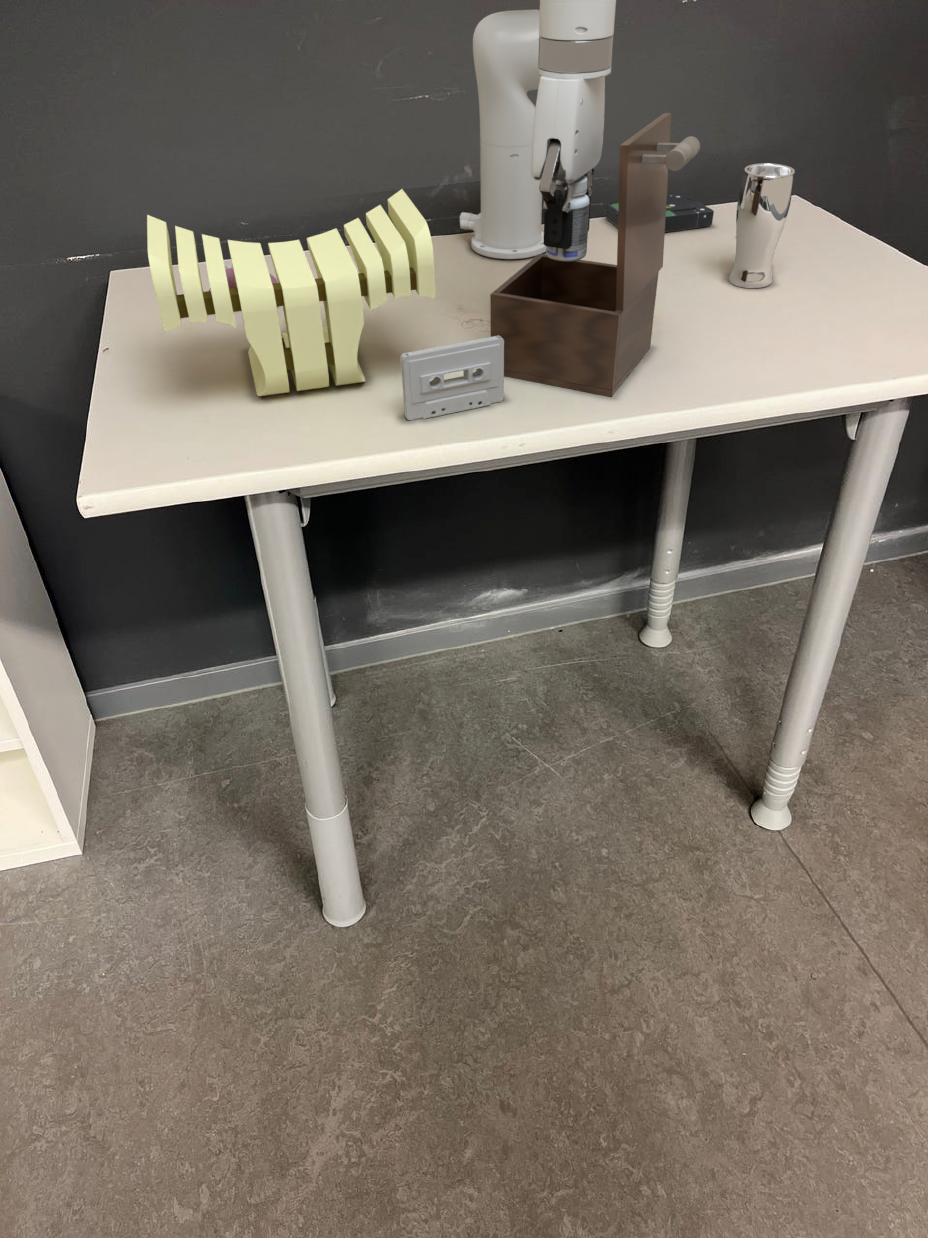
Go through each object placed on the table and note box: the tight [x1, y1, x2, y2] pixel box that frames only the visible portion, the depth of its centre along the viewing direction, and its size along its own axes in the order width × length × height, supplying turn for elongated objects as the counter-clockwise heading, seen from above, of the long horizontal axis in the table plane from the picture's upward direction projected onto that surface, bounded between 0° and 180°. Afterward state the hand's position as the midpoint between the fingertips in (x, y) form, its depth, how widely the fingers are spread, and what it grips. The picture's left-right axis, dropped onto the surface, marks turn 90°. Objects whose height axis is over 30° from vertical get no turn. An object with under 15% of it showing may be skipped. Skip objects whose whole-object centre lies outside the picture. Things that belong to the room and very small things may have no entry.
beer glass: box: [728, 162, 796, 289], centre depth 129 cm, size 7×7×15 cm
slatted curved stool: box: [146, 188, 437, 397], centre depth 109 cm, size 30×16×18 cm, turn 105°
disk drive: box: [605, 193, 715, 233], centre depth 153 cm, size 10×3×15 cm
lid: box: [616, 112, 701, 311], centre depth 100 cm, size 16×15×5 cm
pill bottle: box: [545, 174, 591, 261], centre depth 104 cm, size 5×5×8 cm
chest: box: [489, 253, 660, 398], centre depth 112 cm, size 16×15×10 cm
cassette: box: [400, 335, 505, 421], centre depth 103 cm, size 12×2×8 cm, turn 112°
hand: (566, 237), depth 106 cm, fingers closed on pill bottle, 4 cm apart
